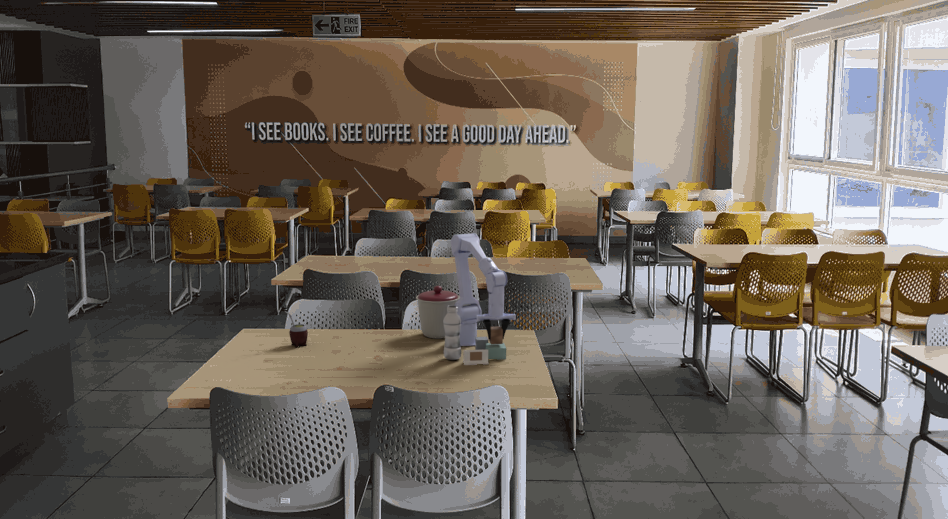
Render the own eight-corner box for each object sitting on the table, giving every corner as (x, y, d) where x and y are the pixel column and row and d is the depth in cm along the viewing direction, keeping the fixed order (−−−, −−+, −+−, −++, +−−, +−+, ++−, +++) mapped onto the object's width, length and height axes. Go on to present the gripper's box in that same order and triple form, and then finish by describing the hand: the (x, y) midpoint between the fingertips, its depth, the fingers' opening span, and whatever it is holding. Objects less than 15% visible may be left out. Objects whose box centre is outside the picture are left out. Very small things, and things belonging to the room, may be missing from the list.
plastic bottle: (459, 362, 261) (459, 309, 257) (441, 361, 262) (441, 308, 259) (463, 357, 267) (463, 305, 263) (445, 356, 268) (445, 304, 265)
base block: (487, 360, 264) (487, 348, 263) (485, 354, 271) (485, 343, 270) (506, 359, 265) (506, 348, 264) (503, 354, 272) (504, 342, 271)
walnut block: (490, 344, 265) (491, 329, 264) (489, 341, 269) (489, 326, 268) (502, 344, 265) (502, 329, 264) (500, 340, 269) (500, 326, 268)
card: (464, 365, 257) (464, 351, 257) (463, 362, 260) (463, 349, 260) (488, 364, 259) (488, 351, 258) (487, 361, 261) (487, 348, 261)
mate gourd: (310, 343, 284) (309, 306, 282) (303, 349, 277) (302, 311, 274) (292, 342, 285) (290, 306, 283) (285, 348, 277) (283, 310, 275)
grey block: (476, 354, 271) (476, 340, 270) (475, 351, 275) (475, 336, 274) (488, 353, 271) (488, 339, 270) (486, 350, 276) (486, 336, 275)
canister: (409, 339, 290) (409, 288, 287) (425, 328, 307) (425, 280, 304) (451, 343, 285) (451, 291, 282) (465, 331, 302) (465, 283, 299)
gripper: (478, 306, 260) (478, 342, 262) (517, 305, 261) (516, 341, 264) (475, 302, 267) (475, 337, 269) (514, 301, 268) (513, 335, 271)
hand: (495, 338), depth 267 cm, fingers closed on walnut block, 4 cm apart
